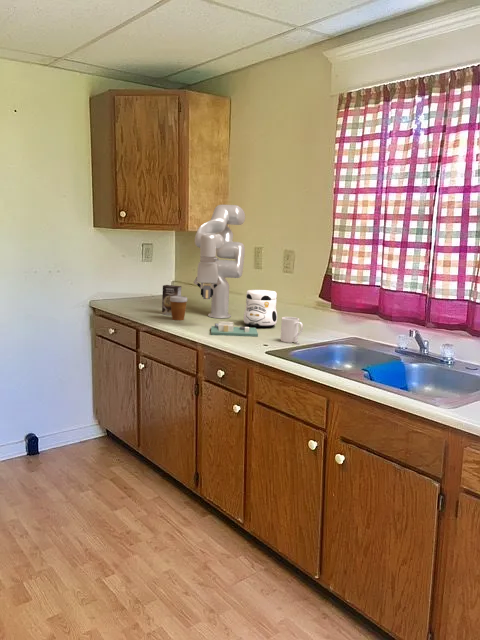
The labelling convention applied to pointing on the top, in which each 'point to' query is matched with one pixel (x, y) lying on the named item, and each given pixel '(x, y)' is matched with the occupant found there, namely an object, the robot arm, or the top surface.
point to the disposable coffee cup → (178, 307)
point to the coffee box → (167, 293)
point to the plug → (206, 290)
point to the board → (232, 330)
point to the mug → (290, 329)
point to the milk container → (260, 308)
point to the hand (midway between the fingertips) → (206, 296)
